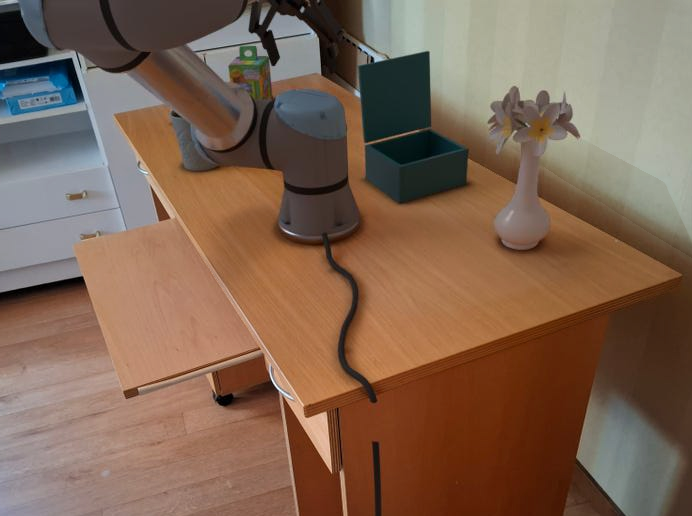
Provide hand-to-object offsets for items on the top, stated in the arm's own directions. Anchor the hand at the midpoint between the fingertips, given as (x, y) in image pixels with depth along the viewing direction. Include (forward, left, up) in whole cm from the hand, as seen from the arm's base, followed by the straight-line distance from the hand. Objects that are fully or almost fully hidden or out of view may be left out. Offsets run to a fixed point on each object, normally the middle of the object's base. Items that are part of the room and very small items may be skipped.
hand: (304, 65), depth 137 cm
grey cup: (-3, +25, -20) cm, 32 cm away
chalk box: (+37, +24, -20) cm, 49 cm away
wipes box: (-11, -24, -20) cm, 33 cm away
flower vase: (-34, -43, -20) cm, 59 cm away
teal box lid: (-5, -20, -5) cm, 21 cm away
